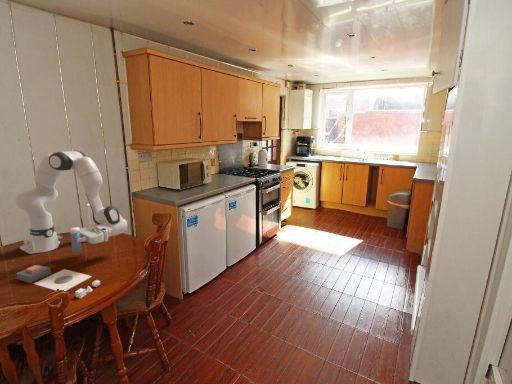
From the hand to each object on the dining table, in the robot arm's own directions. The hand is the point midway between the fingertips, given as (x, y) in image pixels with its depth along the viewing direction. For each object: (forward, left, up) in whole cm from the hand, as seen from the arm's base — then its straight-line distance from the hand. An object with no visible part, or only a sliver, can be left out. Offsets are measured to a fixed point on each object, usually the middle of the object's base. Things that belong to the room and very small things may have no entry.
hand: (73, 239), depth 154 cm
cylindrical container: (-27, +36, -17) cm, 48 cm away
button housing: (-12, -15, -17) cm, 25 cm away
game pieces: (+25, -14, -17) cm, 34 cm away
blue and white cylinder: (0, +1, -7) cm, 7 cm away
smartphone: (-57, +26, -18) cm, 65 cm away
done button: (-12, -15, -15) cm, 24 cm away
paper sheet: (+5, -12, -17) cm, 21 cm away
